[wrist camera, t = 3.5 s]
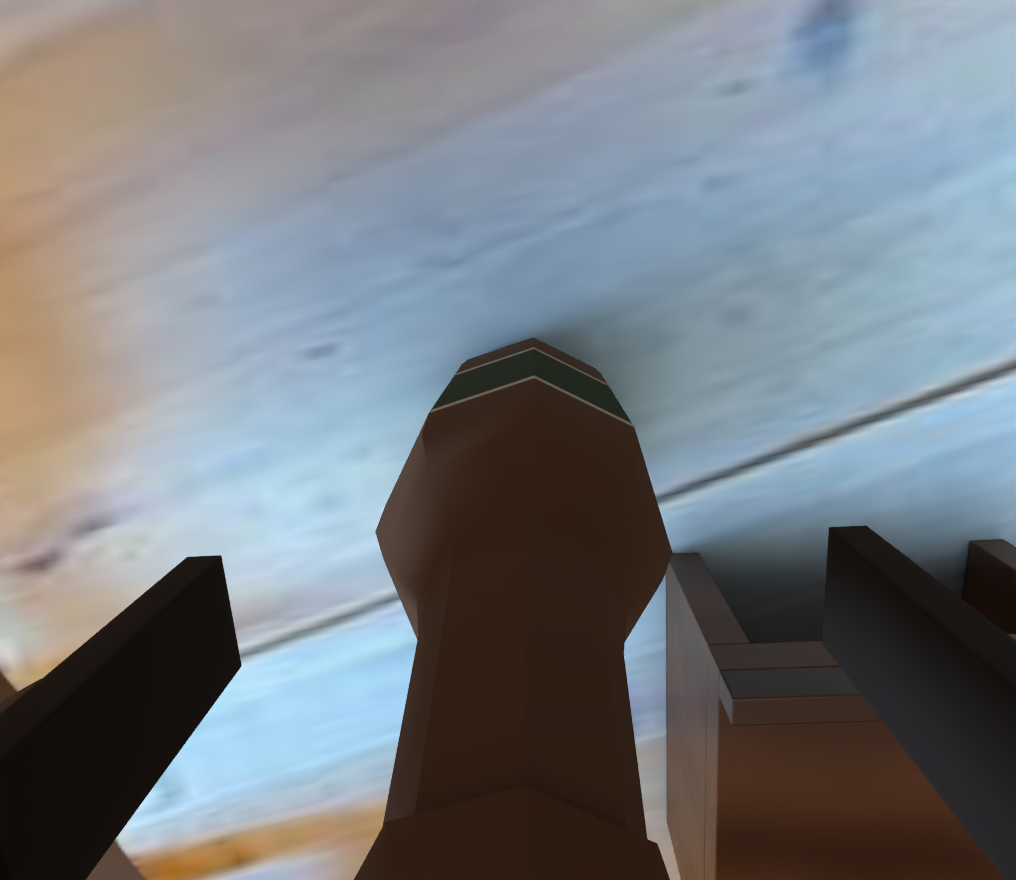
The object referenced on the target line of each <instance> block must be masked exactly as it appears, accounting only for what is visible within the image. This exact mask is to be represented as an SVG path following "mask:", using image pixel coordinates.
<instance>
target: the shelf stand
mask: <svg viewBox="0 0 1016 880" xmlns="http://www.w3.org/2000/svg"><path fill="white" fill-rule="evenodd" d="M963 600H964V601H965V602H966V603H968V604H969V605H970V606H971V607H973V608H974V609H975V610H977V611H978V612H979V613H981V614H982V615H983V616H985V617H986V618H987V619H988V620H990V621H991V622H992V623H994V624H995V625H996V626H998V627H999V628H1000V629H1001V630H1003V631H1004V632H1005V633H1007V634H1008V635H1009V636H1011V637H1012V638H1013V639H1014V640H1016V547H1015V546H1013V545H1012V544H1010V543H1008V542H1007V541H1005V540H986V541H971V542H970V547H969V555H968V563H967V571H966V580H965V588H964V596H963ZM666 713H667V824H668V828H669V832H670V836H671V840H672V844H673V849H674V853H675V857H676V861H677V865H678V869H679V873H680V877H681V880H1005V879H1004V878H1003V877H1002V875H1001V874H1000V873H999V872H998V870H997V869H996V868H995V866H994V865H993V864H992V863H991V861H990V860H989V859H988V857H987V856H986V855H985V853H984V852H983V851H982V850H981V848H980V847H979V846H978V844H977V843H976V842H975V841H974V839H973V838H972V837H971V835H970V834H969V833H968V832H967V830H966V829H965V828H964V826H963V825H962V824H961V823H960V821H959V820H958V819H957V817H956V816H955V815H954V813H953V812H952V811H951V810H950V808H949V807H948V806H947V804H946V803H945V802H944V801H943V799H942V798H941V797H940V795H939V794H938V793H937V792H936V790H935V789H934V788H933V786H932V785H931V784H930V783H929V781H928V780H927V779H926V777H925V776H924V775H923V773H922V772H921V771H920V770H919V768H918V767H917V766H916V764H915V763H914V762H913V761H912V759H911V758H910V757H909V755H908V754H907V753H906V752H905V750H904V749H903V748H902V746H901V745H900V744H899V743H898V741H897V740H896V739H895V737H894V736H893V735H892V733H891V732H890V731H889V730H888V728H887V727H886V726H885V724H884V723H883V722H882V721H881V719H880V718H879V717H878V715H877V714H876V713H875V712H874V710H873V709H872V708H871V706H870V705H869V704H868V703H867V701H866V700H865V699H864V697H863V696H862V695H861V693H860V692H859V691H858V690H857V688H856V687H855V686H854V684H853V683H852V682H851V681H850V679H849V678H848V677H847V675H846V674H845V673H844V672H843V670H842V669H841V668H840V666H839V665H838V664H837V663H836V661H835V660H834V659H833V657H832V656H831V655H830V653H829V652H828V651H827V650H826V648H825V647H824V646H823V644H822V641H813V642H786V643H760V644H750V642H749V640H748V639H747V637H746V635H745V633H744V632H743V630H742V628H741V626H740V625H739V623H738V621H737V619H736V618H735V616H734V614H733V612H732V611H731V609H730V607H729V606H728V604H727V602H726V600H725V599H724V597H723V595H722V593H721V592H720V590H719V588H718V586H717V585H716V583H715V581H714V579H713V578H712V576H711V574H710V572H709V571H708V569H707V567H706V565H705V564H704V562H703V560H702V558H701V557H700V555H699V553H688V554H672V556H671V559H670V561H669V564H668V567H667V569H666Z"/></svg>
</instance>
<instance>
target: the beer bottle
mask: <svg viewBox="0 0 1016 880" xmlns="http://www.w3.org/2000/svg"><path fill="white" fill-rule="evenodd" d="M376 535H377V539H378V542H379V545H380V549H381V552H382V555H383V559H384V561H385V564H386V566H387V569H388V571H389V573H390V576H391V578H392V580H393V583H394V585H395V588H396V590H397V592H398V595H399V597H400V599H401V602H402V604H403V607H404V609H405V611H406V614H407V616H408V618H409V621H410V623H411V626H412V628H413V630H414V633H415V635H416V638H417V640H418V641H417V646H416V652H415V657H414V662H413V668H412V673H411V678H410V684H409V689H408V694H407V700H406V705H405V710H404V715H403V721H402V726H401V731H400V737H399V742H398V747H397V753H396V758H395V763H394V769H393V774H392V779H391V785H390V790H389V795H388V801H387V806H386V811H385V817H384V822H383V827H382V829H381V831H380V833H379V835H378V837H377V838H376V840H375V842H374V844H373V846H372V848H371V849H370V851H369V853H368V855H367V857H366V859H365V860H364V862H363V864H362V866H361V868H360V870H359V871H358V873H357V875H356V877H355V879H354V880H670V879H669V876H668V873H667V870H666V867H665V864H664V861H663V859H662V856H661V853H660V850H659V847H658V844H657V843H655V842H652V841H650V840H648V839H647V833H646V826H645V818H644V810H643V802H642V794H641V786H640V779H639V771H638V763H637V755H636V747H635V739H634V732H633V724H632V716H631V708H630V700H629V692H628V685H627V677H626V669H625V661H624V642H625V641H626V639H627V637H628V636H629V634H630V632H631V631H632V629H633V628H634V626H635V624H636V623H637V621H638V619H639V618H640V616H641V614H642V613H643V611H644V610H645V608H646V606H647V605H648V603H649V601H650V600H651V598H652V597H653V595H654V593H655V592H656V590H657V588H658V587H659V585H660V583H661V582H662V580H663V577H664V575H665V572H666V569H667V567H668V564H669V561H670V559H671V556H672V550H671V547H670V543H669V540H668V537H667V534H666V530H665V527H664V524H663V520H662V517H661V514H660V510H659V507H658V504H657V501H656V497H655V494H654V491H653V487H652V484H651V481H650V477H649V474H648V471H647V468H646V464H645V461H644V458H643V454H642V451H641V448H640V445H639V441H638V438H637V435H636V431H635V428H634V426H633V424H632V423H631V421H630V420H629V418H628V416H627V415H626V413H625V412H624V410H623V408H622V407H621V405H620V404H619V402H618V400H617V399H616V397H615V395H614V394H613V392H612V391H611V389H610V387H609V386H608V384H607V383H606V381H605V379H604V378H603V376H602V375H601V373H600V372H598V371H597V370H596V369H595V368H593V367H591V366H589V365H587V364H585V363H583V362H581V361H579V360H577V359H575V358H573V357H571V356H569V355H567V354H565V353H563V352H561V351H559V350H557V349H555V348H553V347H551V346H549V345H547V344H545V343H543V342H541V341H539V340H537V339H535V338H531V339H528V340H525V341H522V342H519V343H516V344H513V345H510V346H507V347H504V348H501V349H498V350H495V351H492V352H490V353H487V354H484V355H481V356H478V357H475V358H472V359H469V360H467V361H466V362H464V363H463V364H462V365H461V367H460V368H459V370H458V371H457V372H456V374H455V375H454V377H453V378H452V380H451V381H450V383H449V384H448V386H447V387H446V389H445V390H444V392H443V393H442V395H441V396H440V398H439V399H438V400H437V402H436V403H435V405H434V406H433V408H432V409H431V411H430V412H429V414H428V416H427V418H426V420H425V423H424V425H423V427H422V429H421V431H420V433H419V435H418V437H417V440H416V442H415V444H414V446H413V448H412V450H411V452H410V455H409V457H408V459H407V461H406V463H405V465H404V467H403V469H402V472H401V474H400V476H399V478H398V480H397V482H396V484H395V486H394V489H393V491H392V493H391V495H390V497H389V499H388V501H387V503H386V506H385V508H384V511H383V513H382V516H381V519H380V521H379V524H378V527H377V529H376Z"/></svg>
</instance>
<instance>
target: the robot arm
mask: <svg viewBox="0 0 1016 880" xmlns="http://www.w3.org/2000/svg"><path fill="white" fill-rule="evenodd" d="M822 644H823V646H824V647H825V648H826V650H827V651H828V652H829V653H830V655H831V656H832V657H833V659H834V660H835V661H836V663H837V664H838V665H839V666H840V668H841V669H842V670H843V672H844V673H845V674H846V675H847V677H848V678H849V679H850V681H851V682H852V683H853V684H854V686H855V687H856V688H857V690H858V691H859V692H860V693H861V695H862V696H863V697H864V699H865V700H866V701H867V703H868V704H869V705H870V706H871V708H872V709H873V710H874V712H875V713H876V714H877V715H878V717H879V718H880V719H881V721H882V722H883V723H884V724H885V726H886V727H887V728H888V730H889V731H890V732H891V733H892V735H893V736H894V737H895V739H896V740H897V741H898V743H899V744H900V745H901V746H902V748H903V749H904V750H905V752H906V753H907V754H908V755H909V757H910V758H911V759H912V761H913V762H914V763H915V764H916V766H917V767H918V768H919V770H920V771H921V772H922V773H923V775H924V776H925V777H926V779H927V780H928V781H929V783H930V784H931V785H932V786H933V788H934V789H935V790H936V792H937V793H938V794H939V795H940V797H941V798H942V799H943V801H944V802H945V803H946V804H947V806H948V807H949V808H950V810H951V811H952V812H953V813H954V815H955V816H956V817H957V819H958V820H959V821H960V823H961V824H962V825H963V826H964V828H965V829H966V830H967V832H968V833H969V834H970V835H971V837H972V838H973V839H974V841H975V842H976V843H977V844H978V846H979V847H980V848H981V850H982V851H983V852H984V853H985V855H986V856H987V857H988V859H989V860H990V861H991V863H992V864H993V865H994V866H995V868H996V869H997V870H998V872H999V873H1000V874H1001V875H1002V877H1003V878H1004V879H1005V880H1016V640H1014V639H1013V638H1012V637H1011V636H1009V635H1008V634H1007V633H1005V632H1004V631H1003V630H1001V629H1000V628H999V627H998V626H996V625H995V624H994V623H992V622H991V621H990V620H988V619H987V618H986V617H985V616H983V615H982V614H981V613H979V612H978V611H977V610H975V609H974V608H973V607H971V606H970V605H969V604H968V603H966V602H965V601H964V600H962V599H961V598H960V597H958V596H957V595H956V594H955V593H953V592H952V591H951V590H949V589H948V588H947V587H945V586H944V585H943V584H942V583H940V582H939V581H938V580H936V579H935V578H934V577H932V576H931V575H930V574H928V573H927V572H926V571H925V570H923V569H922V568H921V567H919V566H918V565H917V564H915V563H914V562H913V561H912V560H910V559H909V558H908V557H906V556H905V555H904V554H902V553H901V552H900V551H899V550H897V549H896V548H895V547H893V546H892V545H891V544H889V543H888V542H887V541H885V540H884V539H883V538H882V537H880V536H879V535H878V534H876V533H875V532H874V531H872V530H871V529H870V528H869V527H867V526H848V527H829V536H828V553H827V570H826V586H825V603H824V620H823V637H822ZM240 667H241V660H240V655H239V649H238V644H237V639H236V633H235V628H234V622H233V617H232V611H231V606H230V601H229V595H228V590H227V584H226V579H225V573H224V568H223V563H222V557H221V555H220V556H198V557H187V558H186V559H184V560H183V561H182V562H181V563H180V564H178V565H177V566H176V567H175V568H174V569H172V570H171V571H170V572H169V573H168V574H166V575H165V576H164V577H163V578H162V579H161V580H159V581H158V582H157V583H156V584H155V585H153V586H152V587H151V588H150V589H149V590H147V591H146V592H145V593H144V594H143V595H141V596H140V597H139V598H138V599H137V600H135V601H134V602H133V603H132V604H131V605H130V606H128V607H127V608H126V609H125V610H124V611H122V612H121V613H120V614H119V615H118V616H116V617H115V618H114V619H113V620H112V621H110V622H109V623H108V624H107V625H106V626H104V627H103V628H102V629H101V630H100V631H99V632H97V633H96V634H95V635H94V636H93V637H91V638H90V639H89V640H88V641H87V642H85V643H84V644H83V645H82V646H81V647H79V648H78V649H77V650H76V651H75V652H73V653H72V654H71V655H70V656H69V657H68V658H66V659H65V660H64V661H63V662H62V663H60V664H59V665H58V666H57V667H56V668H54V669H53V670H52V671H51V672H50V673H48V674H47V675H46V676H45V677H44V678H42V679H40V680H38V681H36V682H34V683H32V684H31V685H29V686H27V687H25V688H23V689H22V690H20V691H18V692H16V693H15V694H13V695H11V696H9V697H7V698H6V699H5V700H4V701H2V702H1V703H0V880H86V878H87V877H88V876H89V874H90V873H91V871H92V870H93V869H94V867H95V866H96V865H97V863H98V862H99V861H100V859H101V858H102V857H103V855H104V854H105V852H106V851H107V850H108V848H109V847H110V846H111V844H112V843H113V841H114V840H115V839H116V837H117V836H118V835H119V833H120V832H121V831H122V829H123V828H124V826H125V825H126V824H127V822H128V821H129V820H130V818H131V817H132V815H133V814H134V813H135V811H136V810H137V809H138V807H139V806H140V804H141V803H142V802H143V800H144V799H145V798H146V796H147V795H148V793H149V792H150V791H151V789H152V788H153V787H154V785H155V784H156V783H157V781H158V780H159V778H160V777H161V776H162V774H163V773H164V772H165V770H166V769H167V767H168V766H169V765H170V763H171V762H172V761H173V759H174V758H175V756H176V755H177V754H178V752H179V751H180V750H181V748H182V747H183V745H184V744H185V743H186V741H187V740H188V739H189V737H190V736H191V735H192V733H193V732H194V730H195V729H196V728H197V726H198V725H199V724H200V722H201V721H202V719H203V718H204V717H205V715H206V714H207V713H208V711H209V710H210V708H211V707H212V706H213V704H214V703H215V702H216V700H217V699H218V697H219V696H220V695H221V693H222V692H223V691H224V689H225V688H226V687H227V685H228V684H229V682H230V681H231V680H232V678H233V677H234V676H235V674H236V673H237V671H238V670H239V669H240Z"/></svg>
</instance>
